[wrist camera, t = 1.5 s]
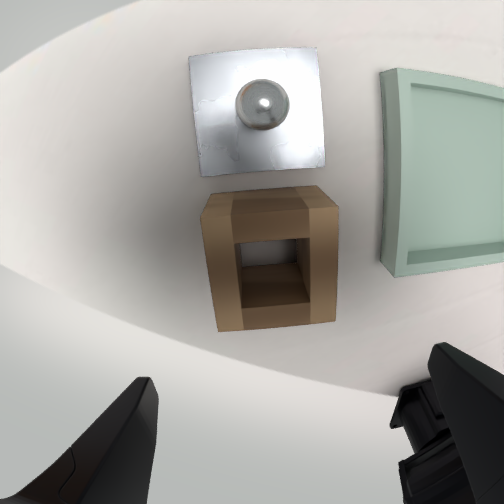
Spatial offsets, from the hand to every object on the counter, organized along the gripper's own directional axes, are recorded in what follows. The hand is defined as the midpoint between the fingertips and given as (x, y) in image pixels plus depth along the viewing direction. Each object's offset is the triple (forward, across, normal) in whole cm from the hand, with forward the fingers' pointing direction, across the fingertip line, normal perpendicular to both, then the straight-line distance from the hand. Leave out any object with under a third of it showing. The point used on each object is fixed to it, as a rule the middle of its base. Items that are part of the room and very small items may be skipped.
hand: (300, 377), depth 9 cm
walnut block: (+12, 0, +1) cm, 12 cm away
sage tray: (+12, -14, -4) cm, 19 cm away
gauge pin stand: (+13, 0, -7) cm, 15 cm away
